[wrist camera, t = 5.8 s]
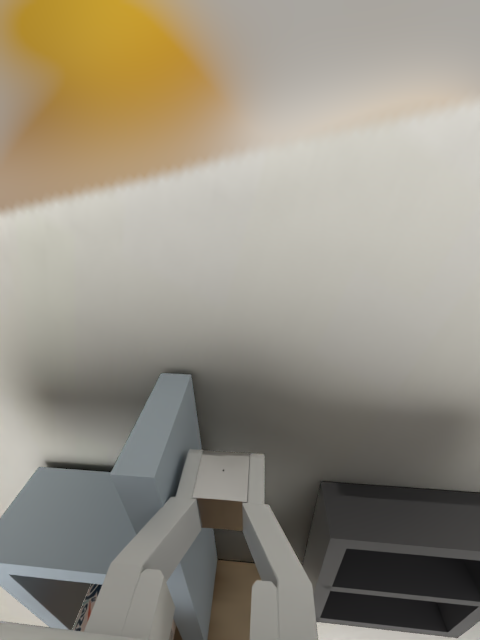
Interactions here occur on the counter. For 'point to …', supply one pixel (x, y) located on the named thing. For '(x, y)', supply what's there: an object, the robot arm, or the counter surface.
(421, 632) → the tray
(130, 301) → the counter surface
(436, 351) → the counter surface
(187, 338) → the counter surface
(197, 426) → the blue grey drawer
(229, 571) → the tunnel
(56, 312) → the counter surface
